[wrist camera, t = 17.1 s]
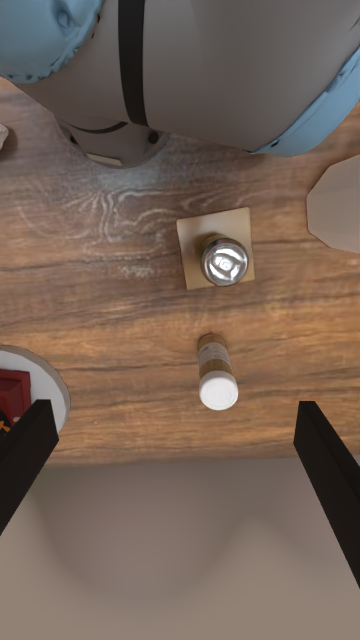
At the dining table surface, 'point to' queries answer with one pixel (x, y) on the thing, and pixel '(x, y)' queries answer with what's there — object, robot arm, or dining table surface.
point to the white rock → (3, 134)
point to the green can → (223, 260)
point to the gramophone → (29, 387)
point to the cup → (337, 206)
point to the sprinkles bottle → (215, 374)
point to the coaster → (205, 225)
